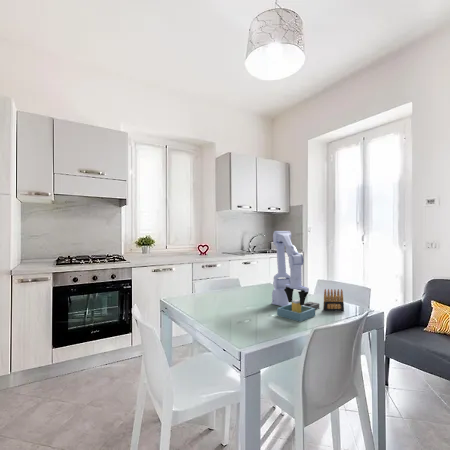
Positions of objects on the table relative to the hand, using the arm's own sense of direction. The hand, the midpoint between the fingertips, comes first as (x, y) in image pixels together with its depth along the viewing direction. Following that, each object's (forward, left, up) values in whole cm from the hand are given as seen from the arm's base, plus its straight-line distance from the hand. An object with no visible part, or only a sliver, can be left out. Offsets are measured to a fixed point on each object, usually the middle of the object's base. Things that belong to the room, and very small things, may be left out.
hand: (296, 303), depth 151 cm
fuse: (0, 0, -6) cm, 6 cm away
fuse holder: (-2, +15, -6) cm, 16 cm away
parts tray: (0, 0, -6) cm, 6 cm away
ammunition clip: (+9, +23, -6) cm, 26 cm away
